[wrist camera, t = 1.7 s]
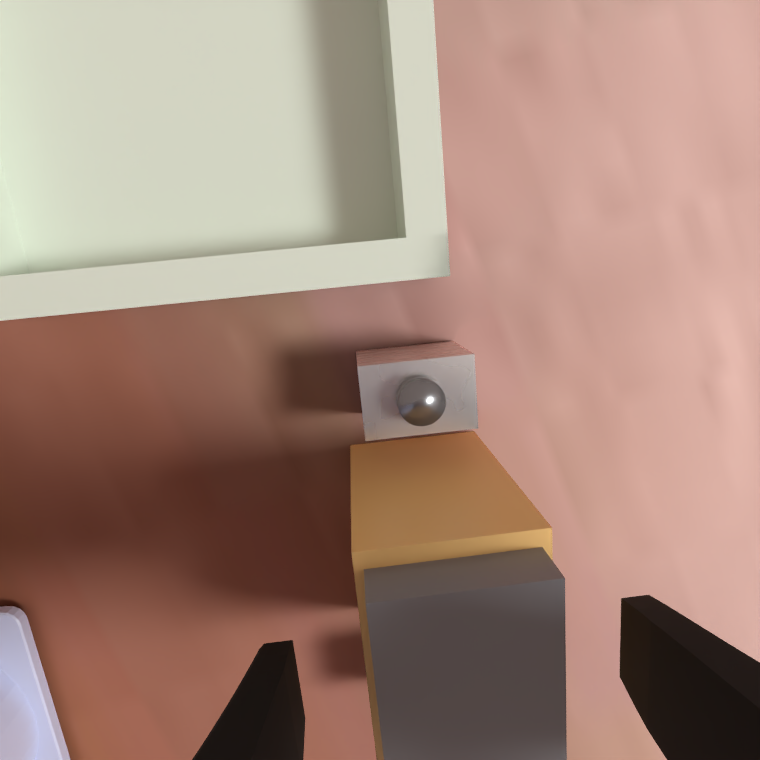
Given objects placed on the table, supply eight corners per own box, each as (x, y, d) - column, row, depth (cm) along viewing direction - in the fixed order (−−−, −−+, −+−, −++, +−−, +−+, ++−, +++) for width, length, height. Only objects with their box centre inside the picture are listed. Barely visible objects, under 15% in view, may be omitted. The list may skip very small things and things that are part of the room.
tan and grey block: (369, 607, 16) (383, 844, 10) (350, 444, 15) (351, 585, 8) (482, 592, 17) (576, 815, 10) (473, 430, 15) (575, 556, 8)
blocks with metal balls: (391, 678, 17) (400, 762, 14) (355, 351, 14) (357, 370, 11) (473, 667, 17) (499, 748, 14) (453, 340, 14) (479, 357, 12)
